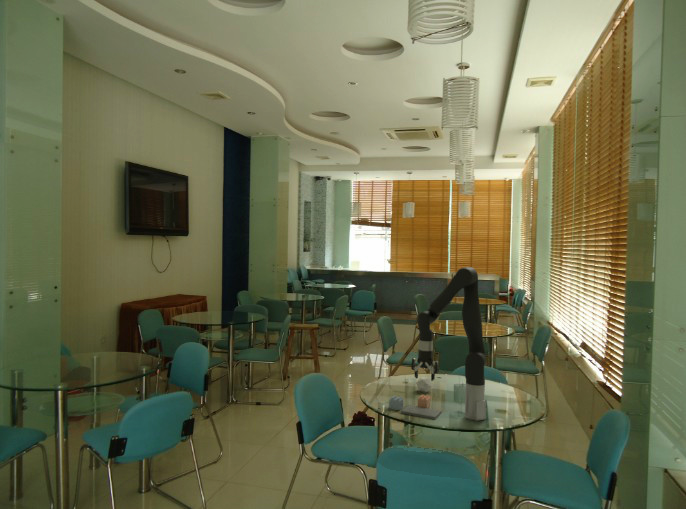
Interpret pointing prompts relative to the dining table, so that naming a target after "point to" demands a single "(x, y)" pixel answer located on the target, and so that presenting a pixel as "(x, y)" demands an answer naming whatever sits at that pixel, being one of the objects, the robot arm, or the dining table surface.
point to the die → (424, 384)
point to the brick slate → (396, 403)
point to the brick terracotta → (424, 401)
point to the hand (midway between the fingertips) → (424, 379)
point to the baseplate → (421, 412)
